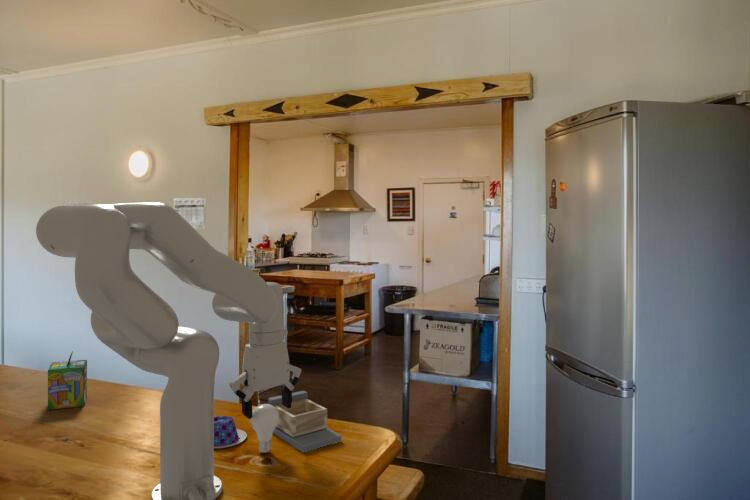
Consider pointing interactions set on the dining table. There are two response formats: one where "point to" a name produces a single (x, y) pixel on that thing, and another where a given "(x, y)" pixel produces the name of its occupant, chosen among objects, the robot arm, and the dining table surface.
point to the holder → (301, 417)
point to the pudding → (226, 432)
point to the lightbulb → (264, 425)
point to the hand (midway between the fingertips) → (267, 411)
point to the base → (309, 439)
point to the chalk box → (67, 384)
